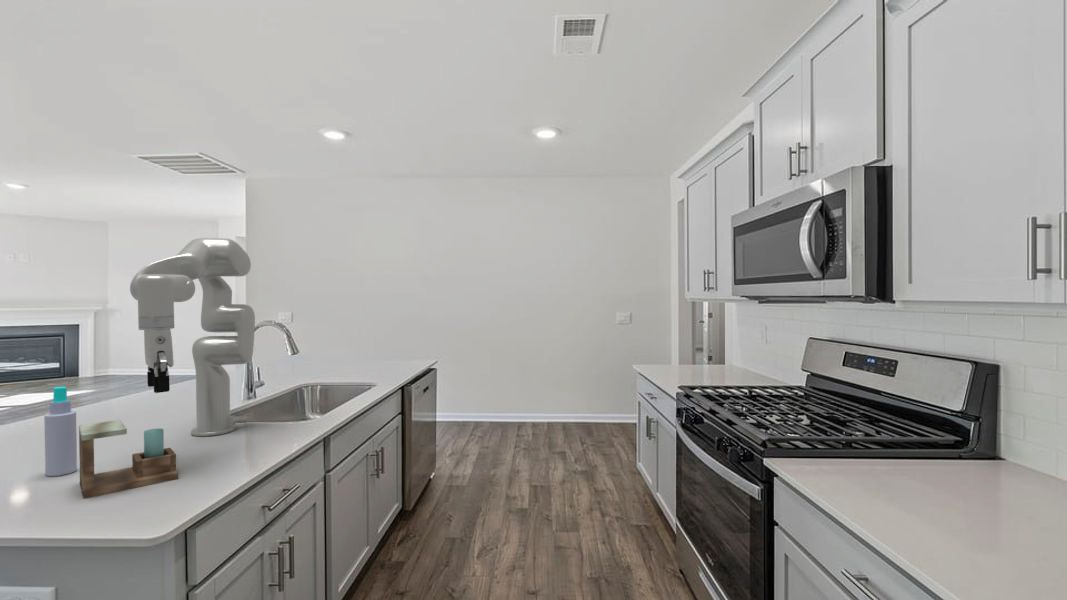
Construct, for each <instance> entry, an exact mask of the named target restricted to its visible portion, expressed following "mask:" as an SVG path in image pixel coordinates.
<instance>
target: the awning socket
mask: <svg viewBox="0 0 1067 600" xmlns="http://www.w3.org/2000/svg"><path fill="white" fill-rule="evenodd" d="M127 430H128V429H127V427H126V426H125V424H124V422H123V420H122V419H117V420H116V419H115V420H110V421H108V420H107V421H103V422H95V423H87V424H79V425H78V434H79V435H78V439H79V440H78V441H79V443H78V447H79V451H78V453H79V454H78V455H79V485H80V486H79V487H80V490H82V491H81V494H82V495H81V496H82V498H83V499H87V498H92V497H97V496H102V495H106V494H111V493H116V492H121V491H125V490H130V489H136V488H140V487H146V486H150V485H155V484H160V483H164V482H170V481H174V480H179V472H178V470H177V454H176V452H175V451H174V450H173V449H172V448H171V447H164V456H158V457H152V458H147V459H144V451H142V452H137V453H132V455H131V456H132V457H131V458H132V459H131V461H132V462H131V463H132V467H126V468H120V469H115V470H110V471H103V472H97V473H95V441H94V440H96V439H103V438H109V437H117V436H123V435H127V434H128V431H127Z"/></svg>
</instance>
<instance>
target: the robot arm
mask: <svg viewBox="0 0 1067 600" xmlns="http://www.w3.org/2000/svg"><path fill="white" fill-rule="evenodd" d="M251 267H252V265H251V258H250V257H249V254H248V253H247V252H246V250H244V248H242V246H241V245H240V244H239V243H238V242H237V241H235V240H233V239H230V238H215V237H214V238H213V237H210V238H209V237H201V238H200V237H199V238H195V239H192V240H190V241H189V242H188V243H187V244H186V245H185V246H184V247H183V248H182V249H181V250H180V251H179V252H178V253H176V255H173V256H170V257H166V258H164V259H161V260H157V261H154V262H152V263H149V264H147V265H144V267H142V268H141V269H140V270H138V272H137V273H135V275H134V276H133V277H132V280H131V282H130V286H129V292H130V295H131V296H132V298H133V299H134V300H136V301H137V315H138V317H137V320H138V321H137V325H138V331H143V336H144V337H143V339H144V342H143V343H144V359H145V364H146V366H147V374H146V377H147V387H148V388H149V387H150V388H151V387H153V393H154V394H159V393H167V392H169V391H170V374H169V373H170V372H169V368H172V367H173V366H174V365H175V364H174V352H173V351H174V350H173V338H172V331H171V330H172V329H175V304H174V303H184V302H187V301H189V300H190V299H192V297H193V296H194V295H195V292H196V284H195V282H194V281H195V280H197V279H198V281H199V283H200V287H201V288H202V301H201V310H200V311H201V312H200V327H201V330H203V331H205V332H208V333H236V334H237V335H227V336H226V335H209V336H203V337H200V338H198V339H196V340H194V342H193V344H192V347H191V348H192V349H191V352H192V353H191V354H192V359H193V363H194V369H195V392H196V393H195V394H196V395H195V396H196V397H195V401H196V403H195V405H196V407H195V408H196V410H195V411H196V412H195V413H196V416H195V417H196V427H194V428H192V429H191V431H190V435H192V436H196V437H212V436H218V435H223V434H228V433H231V432H233V431H235V430H236V424H238V423H244V422H245V423H246V422H247V416H246V415H243V416H241V415H240V416H238V415H237V416H233V415H231V383H230V382H231V380H230V375H229V373H228V372H227V370H226V369H225V368H224V367H223V366H226V365H227V366H229V365H245V364H248V363H250V361H251V360H252V358H253V355H254V345H255V343H254V342H255V327H256V316H255V311H254V309H253V307H252V306H250V305H248V304H244V303H242V304H241V303H239V304H238V303H235V304H234V303H233V304H232V302H233V301H232V300H233V298H232V297H233V289H232V288H231V287H230V285H229V284H228V283H227V282H226V281H225V280H224V278H222V277H238V278H239V277H245V276H247V275H248V274H249V272H251Z"/></svg>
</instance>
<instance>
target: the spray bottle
mask: <svg viewBox="0 0 1067 600" xmlns="http://www.w3.org/2000/svg"><path fill="white" fill-rule="evenodd" d="M52 397H53V401H50V402H49V412H48V413H46V414H44V462H45V464H44V468H45V470H44V471H45V473H44V474H45V476H47V477H60V476H65V474H66V475H69V473H70V474H72V473H74V472H76V471H77V470H78V451H77V450H78V445H77V444H78V443H77V442H78V441H77V440H78V439H77V435H78V434H77V412H76V410H72V408H71V407H72V406H71V400H70V399H68V398H67V397H68V393H67V386H57V387H53V396H52Z"/></svg>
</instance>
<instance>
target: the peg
mask: <svg viewBox="0 0 1067 600" xmlns="http://www.w3.org/2000/svg"><path fill="white" fill-rule="evenodd" d="M164 430H165V429H164V428H150V429H147V430H146V429H145V430H144V431H143V446H144V447H143V452H144V459H147V458H152V457H158V456H164V449H165V447H164V445H165V443H164V441H165V439H164Z"/></svg>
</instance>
